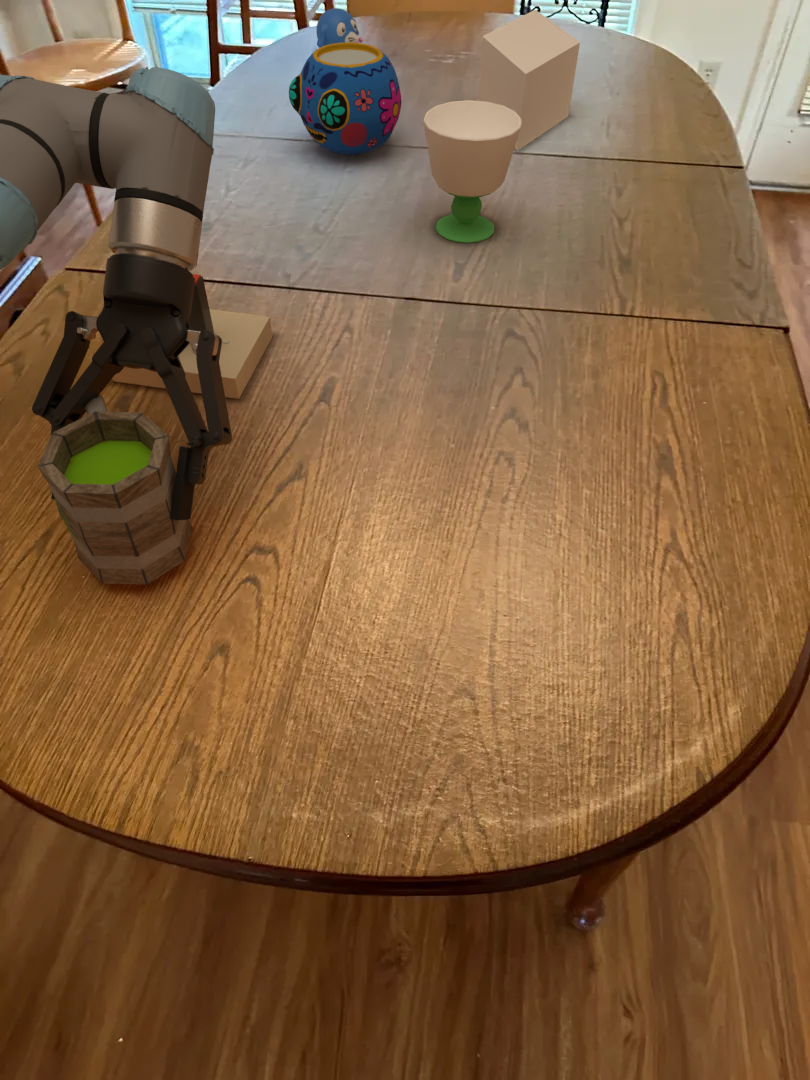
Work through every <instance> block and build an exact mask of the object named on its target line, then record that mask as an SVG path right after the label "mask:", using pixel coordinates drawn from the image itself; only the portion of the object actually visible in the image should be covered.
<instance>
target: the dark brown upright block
mask: <svg viewBox="0 0 810 1080" xmlns="http://www.w3.org/2000/svg"><path fill="white" fill-rule="evenodd" d="M192 274H193V277H194V278H195V285H194V292H193V300H192V308H191V313H190V316H189V325H190V329H191V330H193V331H199V332H201V331H203V330H209V331H211V332H212V333H214V329H213V324H212V319H211V314H210V309H211V308H210V305H209V299H208V296H207V295H208V294H207V290H206V285H205V281H204V276H202V275H201V274H197V273H192Z"/></svg>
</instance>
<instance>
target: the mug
mask: <svg viewBox="0 0 810 1080" xmlns="http://www.w3.org/2000/svg"><path fill="white" fill-rule="evenodd" d="M85 409H86V412H85V414H86V415H85V416H82V418H81V419H79V420H77V421H75V422H73V423H71V424H69V425H67V426H65V427H63V428H61V429H59V430H57V431H55V432H53V433H52V434H51V433H50V436H49V438H48V440H47V441H48V442H47V444H46V446H45V449H44V451H43V453H42V455H41V458H40V460H39V461H38V464H37V468H38V469H39V471H40V472H41V474H42V475H43V477H44V479H45V481H46V482H47V483H48V486H49V488H50V490H51V494H52V493H53V495H54V497H55V499H54V501H55V504H56V508H57V510H58V514H59V516H60V519H61V520H62V521H63V523H64V525H65V526H66V528H67V529H68V531H69V533H70V535H71V539H72V540H73V542H74V545H75V549H76V553H77V557H78V559H79V561H80V562H81V563H82V564H83V565H84V566H85V567H86V568H87V569H88V570H89V571H90V572H91V573H92V575H94V577H95V578H96V579H97V580H98V581H99V582H100V583H101V584H106V585H107V584H113V585H149V584H150V583H152V582H154V581H155V580H157V579H158V578H160V577H162V576H163V575H165V574H166V573H168V572H169V571H171V570H172V569H175V567H177V566H179V565H180V564H182V563H183V562H185V561H186V558H187V554H188V553H187V552H188V549H189V546H190V540H191V537H192V533H193V528H194V527H193V525H192V523H191V521H190V519H189V520H173V519H170V516H171V508H172V501H173V493H174V485H175V478H176V468H175V465H174V461H173V457H172V454H171V446H170V436H169V434H167V433H166V432H165V431H164V430H163V429H161V427H159V426H158V425H157V424H156V423H155V422H153V421H152V420H151V419H150V418H149V417H147V415H146V414H144V412H131V411H130V412H129V411H127V412H126V411H108V407H107V405H106V401H105V398H104V397H103V395H101V394H100V395H99V396H98V397H97V398H94V399H92V400H91V401H90V402H89V403H88V404H87V405H86V407H85Z"/></svg>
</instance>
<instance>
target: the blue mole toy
mask: <svg viewBox="0 0 810 1080" xmlns="http://www.w3.org/2000/svg"><path fill="white" fill-rule="evenodd" d="M315 30H316V38H317V41H316V46H317V48H318V49H319V48H321V47H323V46H326V45H329V44H335V43H349V42H351V43H362V44H363V41H364V38H363V37H360V36H359V34H360V31H359V29H358V26H357V21H356V19H355V18H354V17H353V16H352V15H351V14H350V12H349V11H347V10H345V9H342V8H339V7H337V8H334V7H333V8H329V9H327V10H325V11H324V12H323V13H322V14H321V15H320V16H319V18H318V21H317V23H316V29H315Z"/></svg>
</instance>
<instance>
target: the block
mask: <svg viewBox="0 0 810 1080" xmlns="http://www.w3.org/2000/svg"><path fill="white" fill-rule="evenodd" d="M580 45H581V42H580V41H579V40H578V39H576V38H575V37H573V36H572V35H571V34H569V33H568V32H567V31H565V30H564V29H562V28H561V27H560V26H558V25H557V24H555V23H554V22H553V21H552V20H550V19H549V18H548V17H546V16H544V14H542V13H541V12H539V11H538V10H537V9H534V10H531V11H530V12H528V13H526V14H523V15H522V16H520V17H518V18H516V19H514V20H511V21H510V22H508V23H506V24H504V25H501V26H499V27H497V28H496V29H494V30H492V31H490V32H488V33H486V34H484V35H482V37H481V49H480V50H481V51H480V52H481V53H480V60H479V61H480V63H479V77H478V90H477V101H484V102H490V103H494V104H499V105H503V106H505V107H507V108H509V109H511V110H513V111H515V112H516V113H517V114H518V116H519V117H520V118H521V119H522V123H521V128H520V132H519V135H518V138H517V141H516V145H515V148H514V150H515V151H516V152H518V151H519V150H522V149H523V148H525V146H527V145H529V144H530V143H531V142H533V141H534V140H536V139H537V138H540V136H541V135H543V134H545V133H546V132H547V131H549V130H551V129H552V128H553V127H555V126H557V125H558V124H559V123H560V122H562V121H564V120H565V119H566V118H568V117H569V116H570V109H571V102H572V95H573V90H574V84H575V76H576V71H577V65H578V58H579V51H580Z"/></svg>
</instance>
